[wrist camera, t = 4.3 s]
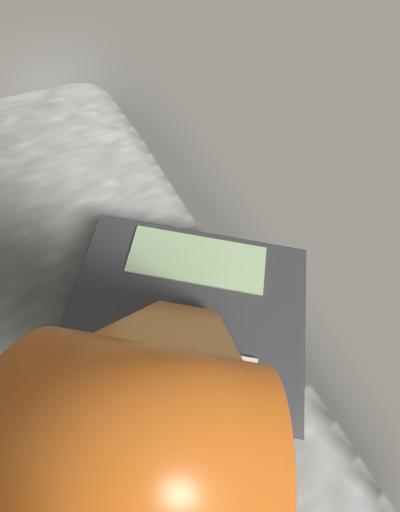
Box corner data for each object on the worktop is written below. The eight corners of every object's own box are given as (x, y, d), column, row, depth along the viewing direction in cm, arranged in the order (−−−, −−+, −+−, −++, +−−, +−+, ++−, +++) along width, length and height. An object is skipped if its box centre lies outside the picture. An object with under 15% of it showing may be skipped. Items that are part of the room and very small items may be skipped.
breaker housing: (278, 424, 16) (305, 441, 12) (67, 385, 16) (34, 390, 13) (285, 270, 20) (307, 248, 16) (114, 240, 20) (99, 213, 17)
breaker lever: (211, 347, 14) (270, 721, 2) (152, 336, 14) (-109, 639, 2) (219, 302, 14) (311, 413, 2) (160, 291, 14) (-37, 350, 2)
